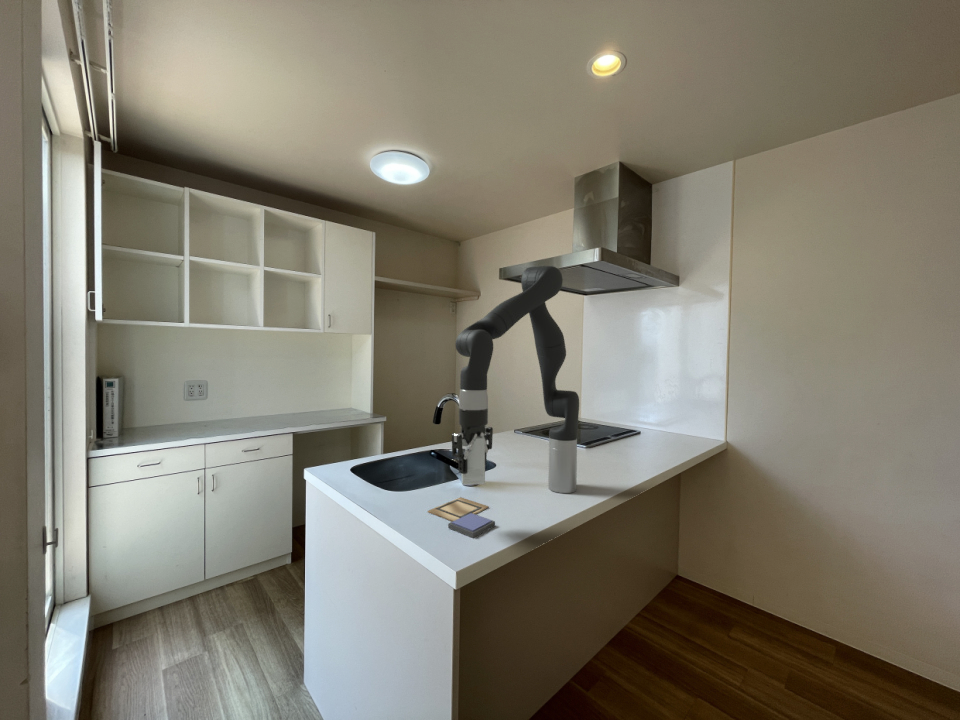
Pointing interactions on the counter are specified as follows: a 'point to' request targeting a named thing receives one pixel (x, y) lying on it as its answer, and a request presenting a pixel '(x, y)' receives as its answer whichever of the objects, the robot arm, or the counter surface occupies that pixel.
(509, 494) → the counter surface
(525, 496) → the counter surface
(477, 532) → the ink pad
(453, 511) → the print sheet
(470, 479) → the skincare box
